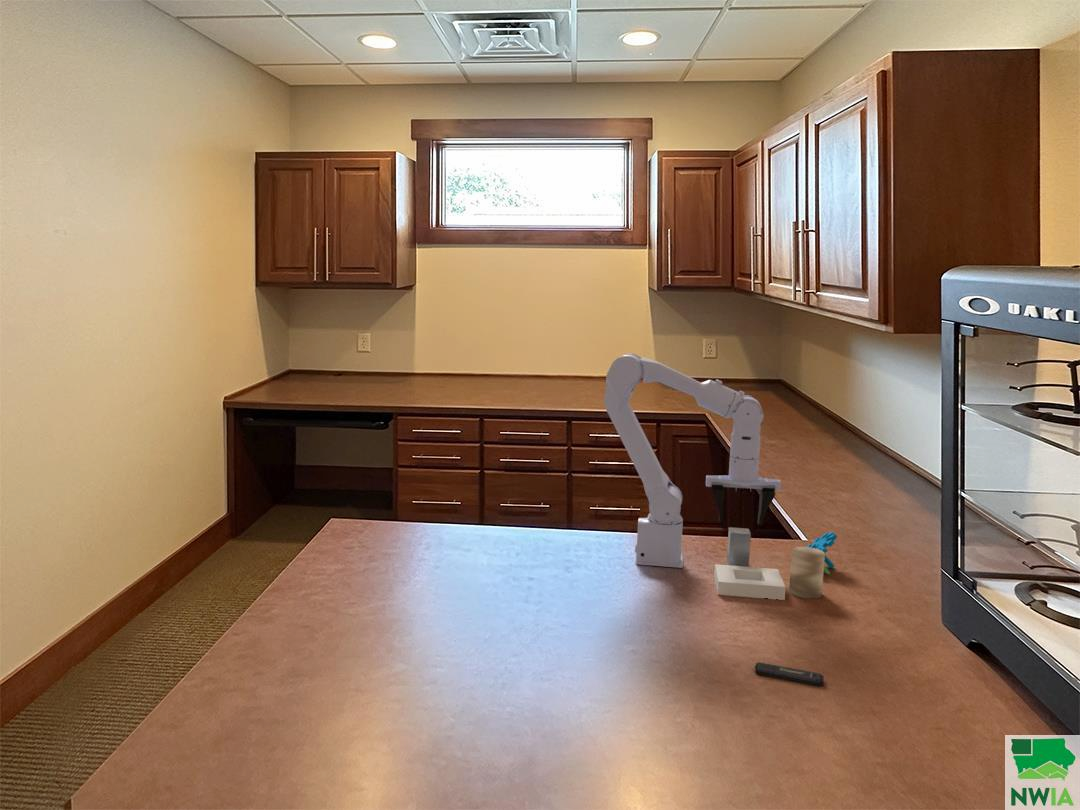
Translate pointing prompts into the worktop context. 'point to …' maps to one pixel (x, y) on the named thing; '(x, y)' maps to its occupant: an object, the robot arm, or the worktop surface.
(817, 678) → the usb stick
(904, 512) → the worktop surface
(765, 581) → the socket block
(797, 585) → the round peg
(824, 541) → the gear
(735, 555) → the square peg
